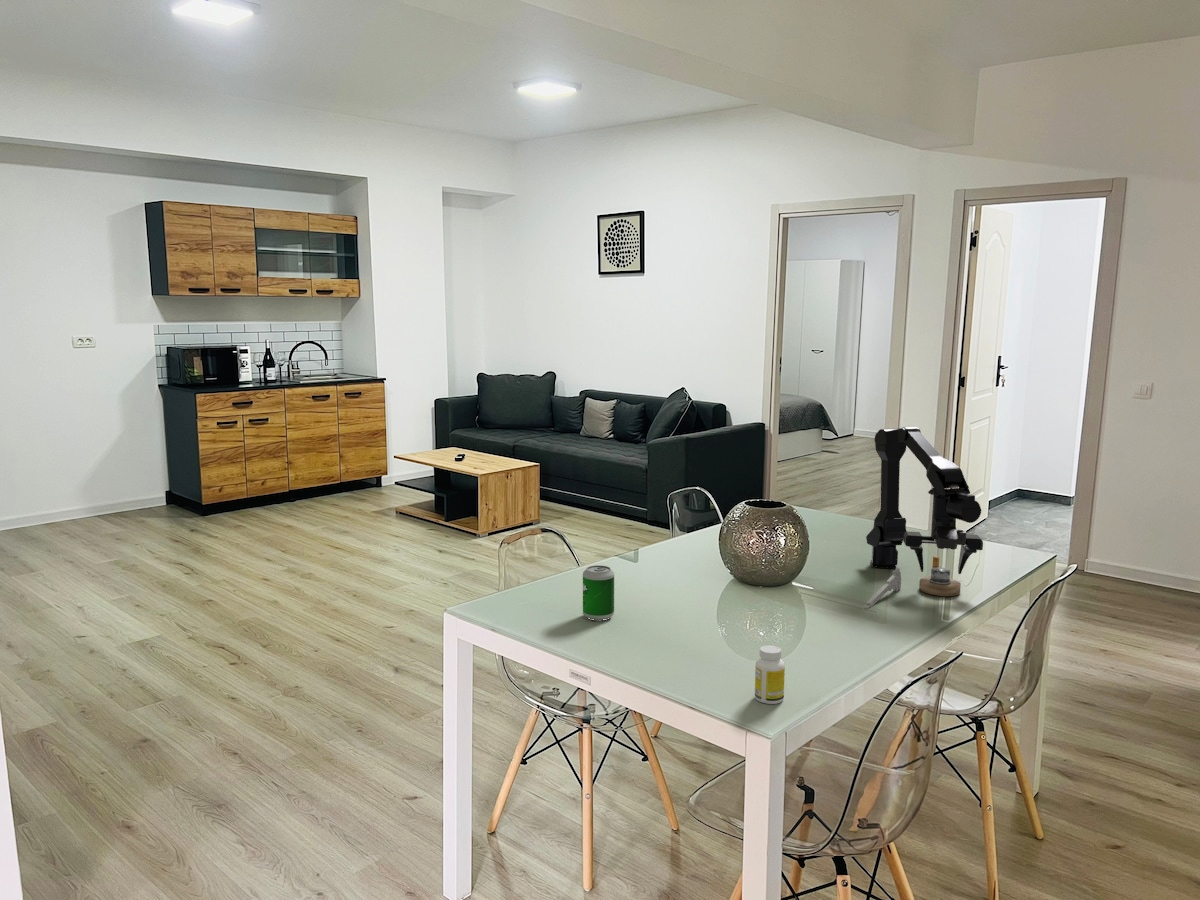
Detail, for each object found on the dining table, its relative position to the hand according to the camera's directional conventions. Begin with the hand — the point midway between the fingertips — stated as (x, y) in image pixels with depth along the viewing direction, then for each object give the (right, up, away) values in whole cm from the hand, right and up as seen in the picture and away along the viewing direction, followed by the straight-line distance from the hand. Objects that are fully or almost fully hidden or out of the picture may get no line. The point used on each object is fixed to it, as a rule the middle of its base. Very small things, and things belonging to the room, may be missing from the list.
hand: (940, 572), depth 233 cm
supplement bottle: (-57, -15, -64) cm, 87 cm away
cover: (0, -2, 0) cm, 2 cm away
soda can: (-89, -8, -19) cm, 91 cm away
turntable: (0, -4, +2) cm, 5 cm away
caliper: (-17, -6, -5) cm, 18 cm away
